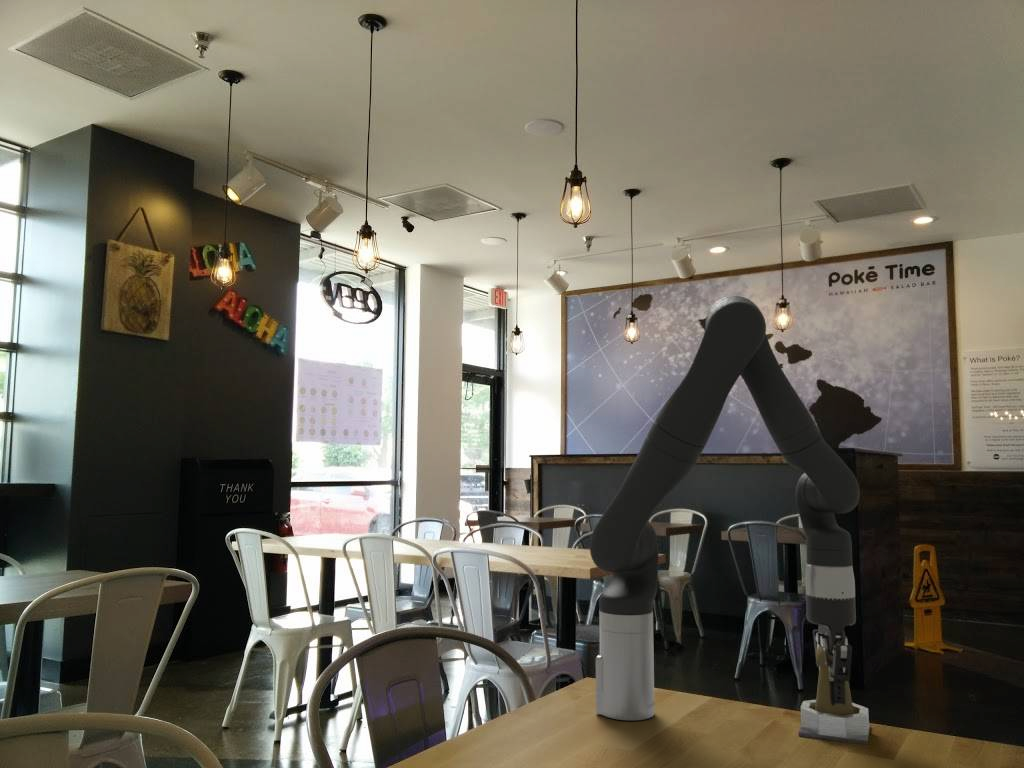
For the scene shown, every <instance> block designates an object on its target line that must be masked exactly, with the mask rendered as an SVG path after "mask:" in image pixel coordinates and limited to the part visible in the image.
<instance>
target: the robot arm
mask: <svg viewBox="0 0 1024 768" xmlns="http://www.w3.org/2000/svg"><path fill="white" fill-rule="evenodd" d="M704 326H705V328H704V329H705V330H704V333H703V336H702V339H701V342H700V344H699V346H698V350H697V351H696V354H695V356H694V358H693V361H692V363H691V365H690V366H689V369H688V371H687V373H686V374H685V376H684V378H682V380H681V382H679V384H678V385H677V387H676V388H675V389H674V391H673V392H672V393H671V394H670V395H669V397H668V399H667V400H666V401H665V403H664V404H663V406H662V407H661V409H660V410H659V412H658V414H657V415H656V417H655V419H654V421H653V423H652V425H651V427H650V429H649V430H648V432H647V434H646V437H645V439H644V441H643V443H642V446H641V448H640V450H639V452H638V453H637V456H636V457H635V459H634V461H633V463H632V464H631V467H630V468H629V471H628V472H627V475H626V476H625V478H624V480H623V483H622V484H621V486H620V487H619V490H618V491H617V493H616V494H615V496H614V497H613V499H612V500H611V502H610V504H609V505H608V506H607V508H606V509H605V511H604V512H603V514H602V516H601V517H600V518H599V520H598V522H597V523H596V525H595V527H594V529H593V531H592V532H591V535H590V540H589V553H590V557H591V560H592V561H593V563H594V564H595V566H596V567H597V568H599V569H600V570H601V571H604V572H608V573H612V576H611V577H612V578H611V580H610V582H609V584H608V585H607V586H606V588H605V589H604V590H603V591H602V592H601V593H600V595H599V599H598V607H599V609H598V611H599V615H598V616H599V623H598V624H599V654H598V655H597V656H596V657H595V714H596V715H601V716H604V717H606V718H609V719H614V720H620V721H642V720H648V719H650V718H653V716H654V715H655V670H654V669H655V668H654V667H655V666H654V665H655V661H654V660H655V659H654V656H655V654H654V651H655V650H654V600H655V599H656V596H657V592H658V583H659V582H658V581H659V580H658V579H659V542H658V541H659V540H658V535H657V533H656V531H655V529H654V527H653V525H652V524H651V523H650V522H649V520H650V519H651V516H652V514H653V513H654V512H655V510H656V509H657V508H658V506H659V505H660V504H661V503H662V502H663V501H664V500H665V498H667V497H668V496H669V495H670V494H671V493H672V492H673V491H674V490H675V489H676V488H677V487H678V486H679V485H681V483H682V482H683V481H684V480H685V478H686V477H687V476H689V474H690V473H691V471H692V470H693V469H694V467H695V465H696V464H697V462H698V460H699V458H700V456H701V454H702V452H703V451H704V450H705V448H706V445H707V443H708V441H709V439H710V437H711V434H712V433H713V430H714V428H715V427H716V424H717V422H718V420H719V417H720V416H721V413H722V410H723V408H724V405H725V402H726V401H727V399H728V396H729V394H730V392H731V390H732V389H733V386H734V385H735V383H736V382H737V381H738V380H739V377H741V378H742V380H743V382H744V383H745V385H746V387H747V389H748V391H749V393H750V395H751V398H752V399H753V401H754V403H755V405H756V408H757V410H758V412H759V414H760V417H761V418H762V420H763V423H764V425H765V427H766V430H767V431H768V433H769V435H770V436H771V438H772V440H773V441H774V443H775V445H776V447H777V449H778V450H779V452H780V454H781V456H782V457H783V460H785V462H786V463H787V465H789V466H791V467H793V468H795V469H797V470H800V471H802V472H803V474H802V475H801V476H800V477H799V479H798V481H797V484H796V487H795V502H796V507H797V511H798V515H799V519H800V522H801V526H802V529H803V532H804V536H805V539H806V540H805V541H806V544H805V545H806V546H805V551H806V552H805V553H806V571H805V604H806V606H805V608H806V609H805V610H806V615H805V616H806V620H807V621H808V622H809V623H811V624H814V625H818V629H813V631H812V635H813V644H814V653H815V656H816V650H817V649H818V647H820V646H822V648H823V651H824V657H825V665H826V666H828V675H829V676H828V678H829V686H830V700H831V705H832V706H834V705H835V703H843V705H844V706H845V682H846V681H851V672H852V671H851V670H852V658H853V647H852V645H851V644H849V642H848V636H846V635H845V634H846V633H845V627H847V626H848V627H851V626H853V625H855V624H856V622H857V614H856V613H857V611H856V584H855V583H856V580H855V575H854V568H853V546H852V545H853V543H852V542H853V541H852V537H851V533H850V532H849V531H847V529H844V528H842V527H841V526H839V525H838V522H837V520H836V515H835V514H838V515H839V514H840V515H841V514H847V513H850V512H851V511H853V510H854V509H855V508H856V507H857V506H858V503H859V502H860V498H861V496H860V495H861V492H860V486H859V482H858V480H857V477H856V476H855V474H854V472H853V471H852V470H851V468H849V466H848V465H847V463H845V461H844V460H843V459H842V458H841V457H840V456H839V454H837V452H836V451H835V450H834V449H833V448H832V447H831V446H830V445H829V444H828V443H827V442H826V440H825V439H824V437H823V436H822V433H821V432H820V430H819V427H818V426H817V424H816V423H815V421H814V419H813V417H812V416H811V414H810V412H809V410H808V409H807V407H806V405H805V404H804V402H803V401H802V399H801V397H800V396H799V394H798V393H797V391H796V390H795V388H794V387H793V385H792V383H791V382H790V381H789V379H788V377H787V376H786V374H785V372H784V370H783V369H782V367H781V365H780V364H779V361H778V360H777V358H776V356H775V353H774V352H773V349H772V347H771V344H770V342H769V339H768V336H767V333H766V332H767V323H766V318H765V317H764V315H763V312H762V311H761V309H760V308H759V306H757V304H756V303H754V302H753V301H752V300H750V299H748V298H746V297H743V296H739V295H729V296H724V297H722V298H720V299H718V300H717V301H715V302H714V303H713V304H712V305H711V307H710V308H709V310H708V312H707V314H706V317H705V325H704ZM829 654H830V655H831V656H833V661H831V660H830V659H829ZM815 664H816V667H817V668H818V669H819V668H820V666H819V664H818V663H817V660H816V659H815ZM838 668H841V672H838Z"/></svg>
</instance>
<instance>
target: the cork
mask: <svg viewBox="0 0 1024 768" xmlns="http://www.w3.org/2000/svg"><path fill="white" fill-rule="evenodd" d="M829 659H830V660H831V661H833V656H831V655H830V654H829ZM816 660H817V663H818V664H819V666H820V668H819V667H818V681H817V686H816V687H817V689H816V698H815V700H816V706H815V710H816V711H818V712H821V713H826V714H834V715H851V714H854V711H853V705H852V703H853V700H852V695H851V688H850V682H849V681H846V682H845V706H844V705H843V703H835V705H834V706H832V705H831V700H830V686H829V678H828V676H829V675H828V666H826V665H825V657H824V651H823V648H822V646H820V647H818V649H817V650H816V655H815V661H816ZM838 672H841V668H838Z"/></svg>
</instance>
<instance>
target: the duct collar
mask: <svg viewBox="0 0 1024 768" xmlns="http://www.w3.org/2000/svg"><path fill="white" fill-rule="evenodd" d="M852 705H853V711H854V714H851V715H834V714H826V713H821V712H818V711H816V710H815V706H816V699H810V700H803V701H802V703H801V705H800V727H799V730H798V737H804V738H811V739H819V740H826V741H835V742H841V743H843V742H844V743H851V744H856V745H857V744H858V745H865V746H868V745H869V744H868V743H869V737H870V729H871V723H870V721H869V719H870V718H869V708H868V707H865V706H863V705H860V704H857V703H854V702H852ZM869 724H870V725H869Z"/></svg>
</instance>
